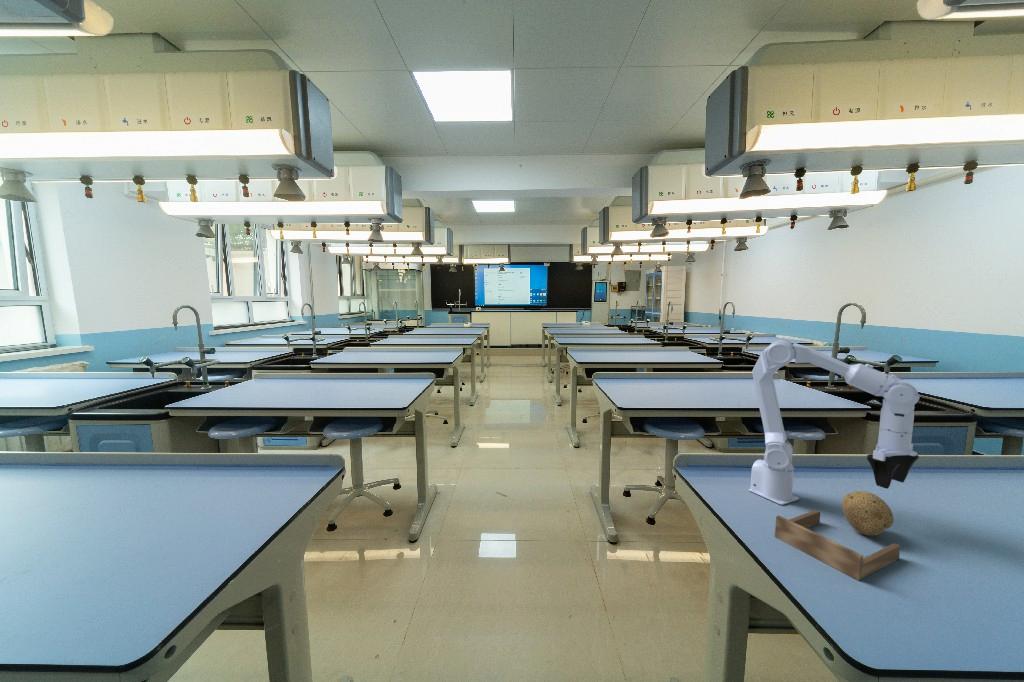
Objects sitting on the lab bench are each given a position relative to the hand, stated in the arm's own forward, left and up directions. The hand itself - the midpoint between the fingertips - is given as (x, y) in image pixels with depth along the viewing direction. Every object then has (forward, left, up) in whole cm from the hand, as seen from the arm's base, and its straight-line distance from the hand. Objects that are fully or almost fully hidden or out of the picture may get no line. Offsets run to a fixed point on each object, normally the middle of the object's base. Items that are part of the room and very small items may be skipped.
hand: (890, 483), depth 96 cm
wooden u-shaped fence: (0, -22, -10) cm, 24 cm away
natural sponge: (0, -10, -11) cm, 14 cm away
